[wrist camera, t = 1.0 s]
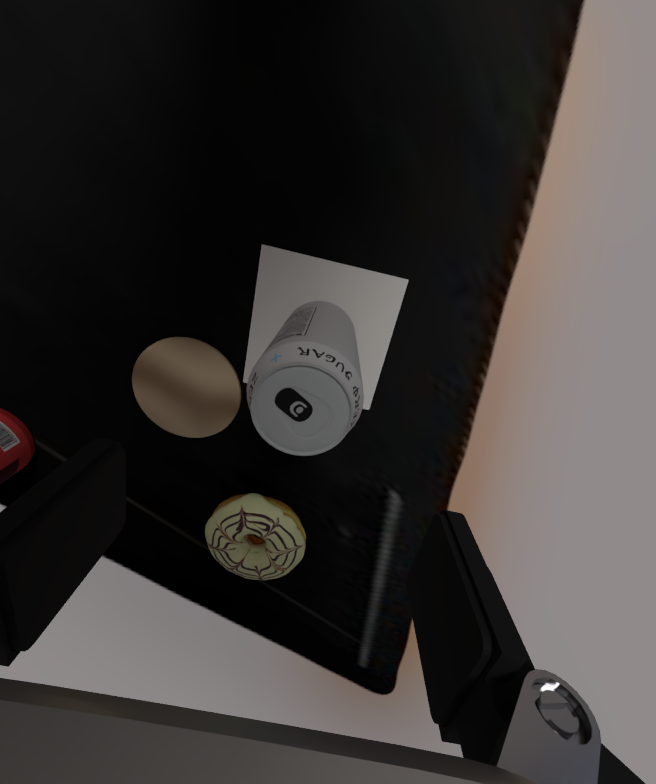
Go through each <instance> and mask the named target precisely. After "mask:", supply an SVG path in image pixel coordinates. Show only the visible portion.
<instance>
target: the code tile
mask: <svg viewBox="0 0 656 784" xmlns="http://www.w3.org/2000/svg"><path fill="white" fill-rule="evenodd" d="M407 284H408V279H403V278H399V277H395V276H391V275H387V274H383V273H379V272H375V271H370V270H366V269H362V268H358V267H354V266H350V265H346V264H342V263H338V262H333V261H329V260H325V259H321V258H317V257H313V256H309V255H305V254H300V253H296V252H292V251H288V250H284V249H280V248H276V247H272V246H268V245H263V244H262V247H261V254H260V261H259V269H258V276H257V283H256V290H255V298H254V305H253V312H252V319H251V327H250V334H249V341H248V349H247V356H246V363H245V370H244V378H243V382H244V383H248V378H249V375H250V373H251V371H252V369H253V367H254V365H255V364H256V363H257V361H258V360H259V358H260V357H261V356H262V354H263V353H264V351H265V350H266V349H267V347H268V346H269V344H270V343H271V342H272V340H273V339H274V337H275V336H276V335H277V333H278V332H279V330H280V329H281V328H282V326H283V325H284V323H285V322H286V321H287V319H288V318H289V316H290V315H291V314H292V312H293V311H294V310H296V309H297V308H298V307H300V306H301V305H303V304H305V303H308V302H312V301H326V302H330V303H333V304H335V305H337V306H339V307H340V308H341V309H342V310H344V311H345V312H346V313H347V315H348V316H349V317H350V319H351V321H352V323H353V326H354V329H355V334H356V341H357V348H358V355H359V362H360V369H361V376H362V383H363V392H364V401H363V408H362V409H366V410H369V408H370V405H371V402H372V399H373V395H374V392H375V389H376V385H377V382H378V379H379V376H380V372H381V369H382V366H383V362H384V359H385V356H386V353H387V349H388V346H389V343H390V339H391V336H392V333H393V330H394V326H395V323H396V320H397V316H398V313H399V310H400V307H401V303H402V300H403V297H404V294H405V290H406V287H407Z"/></svg>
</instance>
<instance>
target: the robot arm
mask: <svg viewBox="0 0 656 784" xmlns="http://www.w3.org/2000/svg"><path fill="white" fill-rule="evenodd" d="M125 520H126V452H125V449H124V448H121V445H120V443H119V442H117V441H112V440H107V439H103V438H95V439H93V440H92V441H91V442H90V443H88V444H87V445H86V446H84V447H83V448H82V449H81V450H79V451H78V452H77V453H76V454H74V455H73V456H72V457H70V458H69V459H68V460H67V461H65V462H64V463H63V464H61V465H60V466H59V467H58V468H56V469H55V470H54V471H53V472H51V473H50V474H49V475H47V476H46V477H45V478H44V479H42V480H41V481H40V482H38V483H37V484H36V485H35V486H33V487H32V488H31V489H29V490H28V491H27V492H26V493H24V494H23V495H22V496H20V497H19V498H18V499H17V500H15V501H14V502H13V503H12V504H10V505H9V506H8V507H6V508H5V509H4V510H3V511H2V512H0V665H3V666H9V665H10V664H11V663H12V661H13V660H14V659H15V658H16V656H17V655H18V654H19V653H20V651H26V650H28V649H29V648H30V647H31V646H32V645H33V644H34V643H35V642H36V640H37V639H38V638H39V637H40V635H41V634H42V632H43V631H44V630H45V629H46V627H47V626H48V625H49V624H50V622H51V621H52V620H53V618H54V617H55V616H56V614H57V613H58V612H59V611H60V609H61V608H62V607H63V605H64V604H65V603H66V601H67V600H68V599H69V598H70V596H71V595H72V594H73V592H74V591H75V590H76V588H77V587H78V586H79V585H80V583H81V582H82V581H83V579H84V578H85V577H86V576H87V574H88V573H89V572H90V570H91V569H92V568H93V566H94V565H95V564H96V562H97V561H98V560H99V559H100V557H101V556H102V555H103V554H104V552H105V551H106V550H107V548H108V547H109V546H110V545H111V543H112V542H113V541H114V539H115V538H116V537H117V535H118V534H119V533H120V532H121V530H122V528H123V526H124V524H125ZM407 590H408V596H409V601H410V606H411V612H412V617H413V622H414V627H415V633H416V638H417V643H418V649H419V654H420V659H421V665H422V670H423V675H424V681H425V686H426V690H427V696H428V702H429V707H430V712H431V716H432V719H433V721H434V723H436V724H439V729H440V734H441V739H442V741H443V742H449V743H455V744H460V745H461V749H462V753H463V757H464V758H461V757H456V756H451V755H446V754H441V753H436V752H431V751H426V750H421V749H416V748H411V747H406V746H401V745H396V744H390V743H384V742H379V741H373V740H367V739H362V738H356V737H350V736H345V735H339V734H334V733H328V732H322V731H317V730H311V729H305V728H299V727H294V726H288V725H283V724H277V723H271V722H265V721H259V720H253V719H248V718H242V717H236V716H230V715H224V714H219V713H213V712H206V711H201V710H195V709H189V708H183V707H177V706H172V705H166V704H160V703H153V702H147V701H142V700H136V699H130V698H123V697H117V696H111V695H105V694H99V693H93V692H87V691H81V690H74V689H69V688H63V687H57V686H50V685H45V684H37V683H31V682H24V681H17V680H10V679H3V678H0V784H645V783H644V782H643V781H642V780H641V779H640V778H638V776H636V775H635V774H634V773H633V772H632V771H631V770H630V769H629V768H628V767H627V766H625V765H624V764H623V763H622V762H621V761H620V760H619V759H618V758H617V757H616V756H614V755H613V754H612V753H611V752H610V751H609V750H608V749H607V748H605V746H604V745H603V744H601V737H600V730H599V727H598V725H597V722H596V719H595V717H594V715H593V714H592V712H591V710H590V709H589V707H588V705H587V704H586V703H585V701H584V700H583V699H582V698H581V696H580V695H579V694H578V693H577V692H576V691H575V690H574V689H573V688H572V687H571V686H570V685H569V684H568V683H567V682H566V681H564V680H562V679H561V678H559V677H558V676H557V675H555V674H553V673H550V672H548V671H545V670H537V669H535V668H534V666H533V664H532V662H531V659H530V657H529V655H528V653H527V651H526V648H525V646H524V644H523V642H522V640H521V637H520V635H519V633H518V631H517V629H516V626H515V624H514V622H513V620H512V618H511V615H510V613H509V611H508V609H507V607H506V604H505V602H504V600H503V598H502V595H501V593H500V591H499V589H498V587H497V584H496V582H495V580H494V578H493V576H492V573H491V572H490V570H489V568H488V567H487V565H486V563H485V561H484V559H483V556H482V554H481V552H480V550H479V547H478V545H477V543H476V541H475V539H474V537H473V534H472V532H471V530H470V527H469V525H468V523H467V521H466V519H465V517H464V515H463V514H461V513H457V512H451V511H447V510H442V511H441V512H440V514H435V515H434V517H433V519H432V521H431V523H430V526H429V528H428V530H427V532H426V535H425V537H424V539H423V541H422V544H421V546H420V548H419V550H418V552H417V555H416V557H415V559H414V561H413V564H412V566H411V568H410V570H409V573H408V575H407Z"/></svg>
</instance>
